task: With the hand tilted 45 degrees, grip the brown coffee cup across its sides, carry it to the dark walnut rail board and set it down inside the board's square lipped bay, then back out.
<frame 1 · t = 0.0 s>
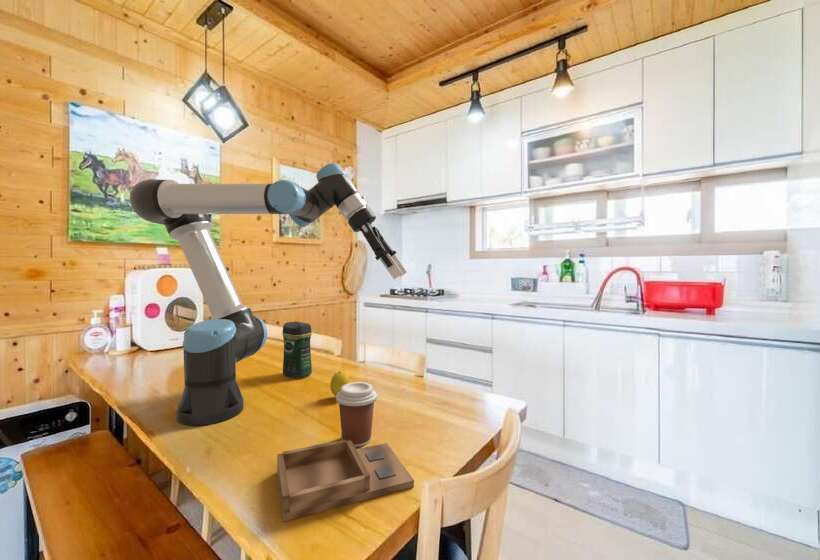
hand: (401, 275, 100), 36 cm above the table, tool tilted 35°, fingers open, 13 cm apart
coffee cup: (356, 440, 80), on the table
coffee jar: (297, 375, 123), on the table
rail board: (343, 479, 65), on the table
lemon: (340, 399, 103), on the table
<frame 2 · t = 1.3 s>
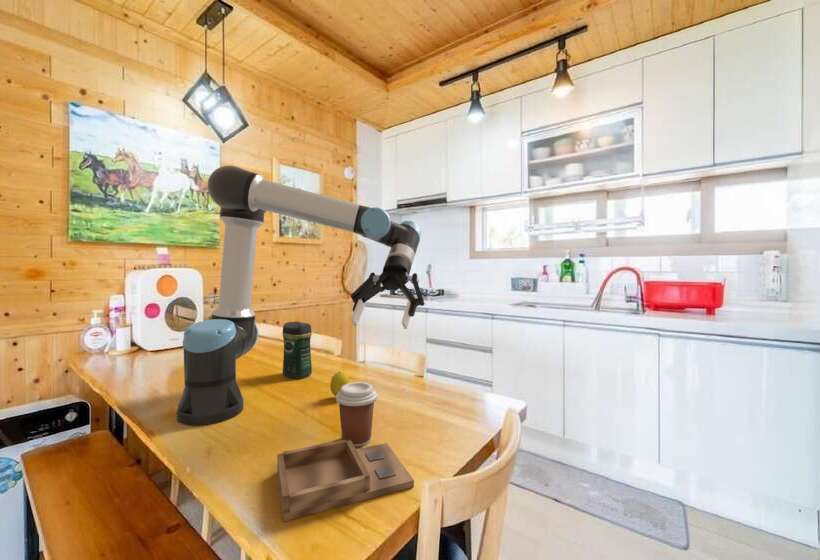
hand: (378, 324, 89), 24 cm above the table, tool tilted 45°, fingers open, 13 cm apart
nothing on the table moved.
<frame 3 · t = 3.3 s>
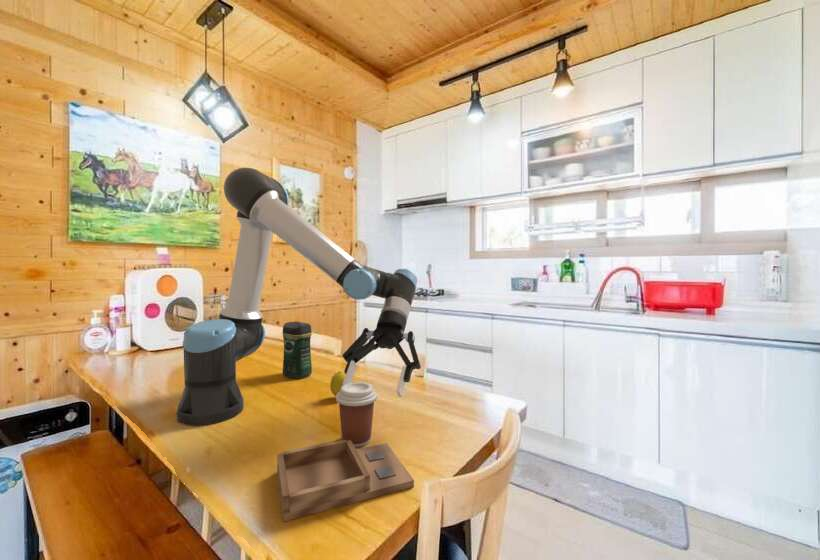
hand: (371, 390, 84), 10 cm above the table, tool tilted 45°, fingers open, 13 cm apart
nothing on the table moved.
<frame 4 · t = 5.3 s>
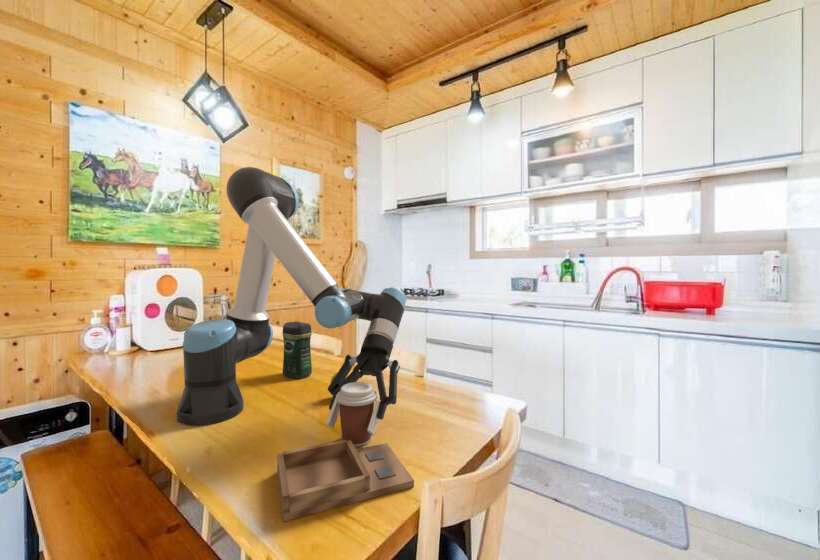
hand: (349, 429, 76), 4 cm above the table, tool tilted 45°, fingers closed on coffee cup, 9 cm apart
coffee cup: (356, 440, 80), on the table, touching gripper
everything else where it was.
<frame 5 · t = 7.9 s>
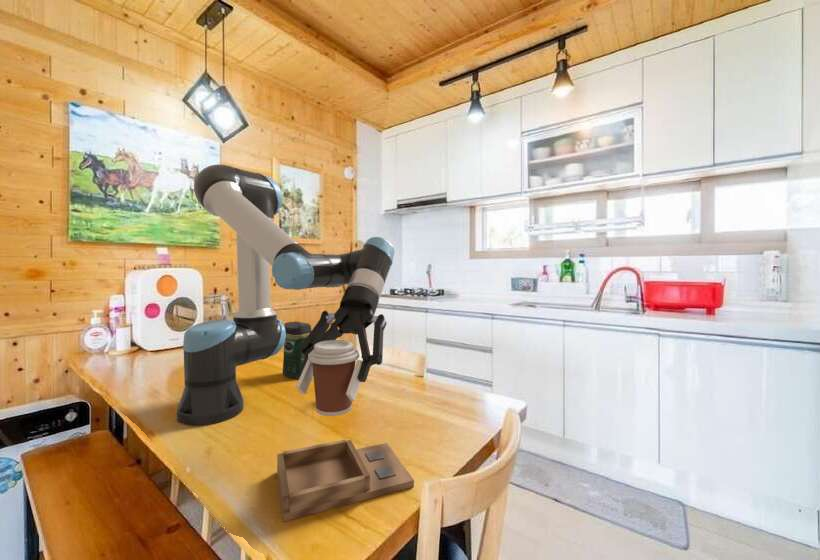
hand: (324, 394, 62), 17 cm above the table, tool tilted 45°, fingers closed on coffee cup, 9 cm apart
coffee cup: (334, 409, 66), point 13 cm above the table, touching gripper
everything else where it was.
when the fingers open (6 cm above the table, at t = 10.6 s): coffee cup drops 1 cm, resting on rail board.
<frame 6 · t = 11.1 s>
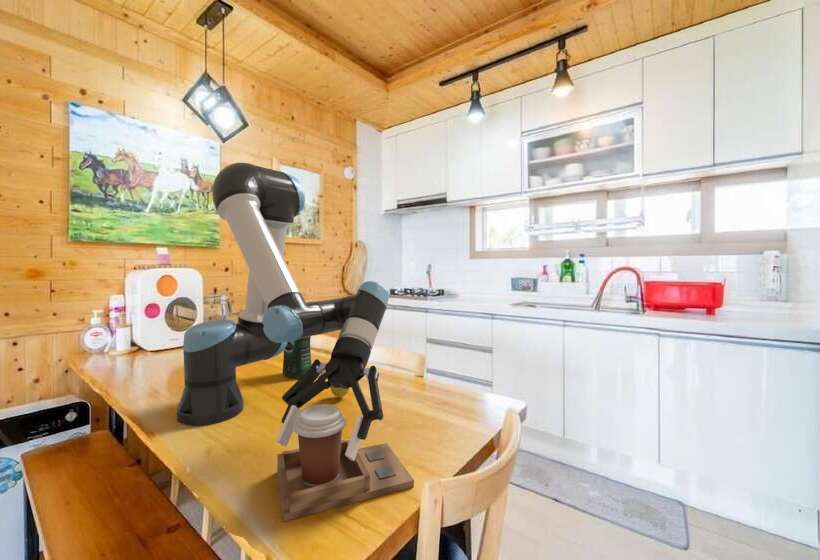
hand: (314, 450, 61), 7 cm above the table, tool tilted 45°, fingers open, 13 cm apart
coffee cup: (320, 478, 64), point 1 cm above the table, touching rail board
everything else where it was.
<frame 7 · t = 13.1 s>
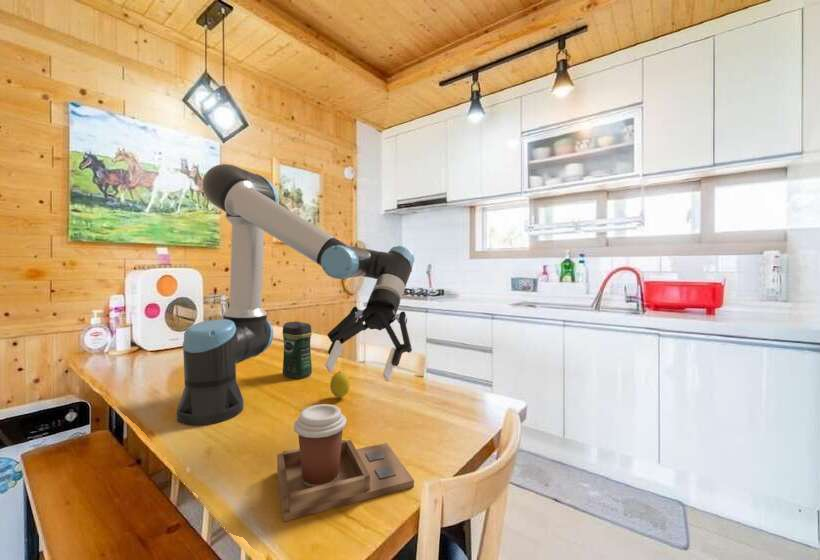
hand: (356, 373, 76), 16 cm above the table, tool tilted 45°, fingers open, 13 cm apart
nothing on the table moved.
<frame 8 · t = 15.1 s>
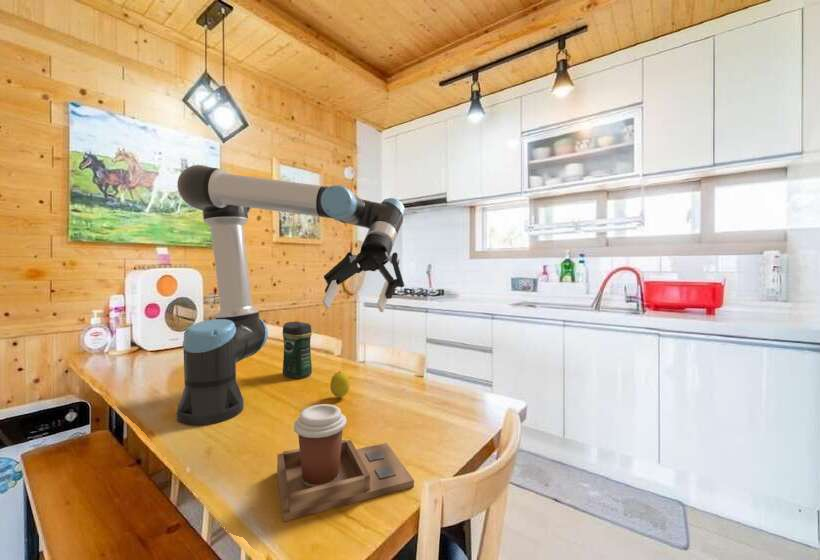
hand: (351, 306, 80), 30 cm above the table, tool tilted 45°, fingers open, 13 cm apart
nothing on the table moved.
at the end: coffee cup inside the target area on the rail board (0.3 cm from its centre), point 1.0 cm above the rail board's base; coffee cup tilted 0°; the gripper is holding nothing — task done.
